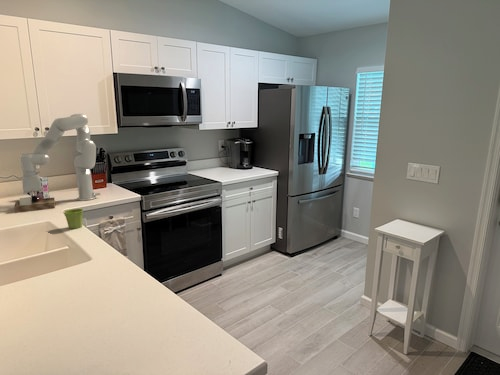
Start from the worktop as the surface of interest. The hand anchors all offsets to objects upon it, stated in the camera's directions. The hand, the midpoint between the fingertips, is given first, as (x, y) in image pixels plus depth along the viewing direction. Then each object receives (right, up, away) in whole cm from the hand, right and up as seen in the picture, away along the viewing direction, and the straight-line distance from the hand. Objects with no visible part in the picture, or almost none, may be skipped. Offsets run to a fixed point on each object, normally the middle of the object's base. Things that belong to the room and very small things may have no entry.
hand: (34, 201), depth 223 cm
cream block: (-4, -1, -2) cm, 5 cm away
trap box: (+1, -4, +1) cm, 4 cm away
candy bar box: (-13, +1, +29) cm, 31 cm away
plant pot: (+50, -11, -46) cm, 69 cm away
